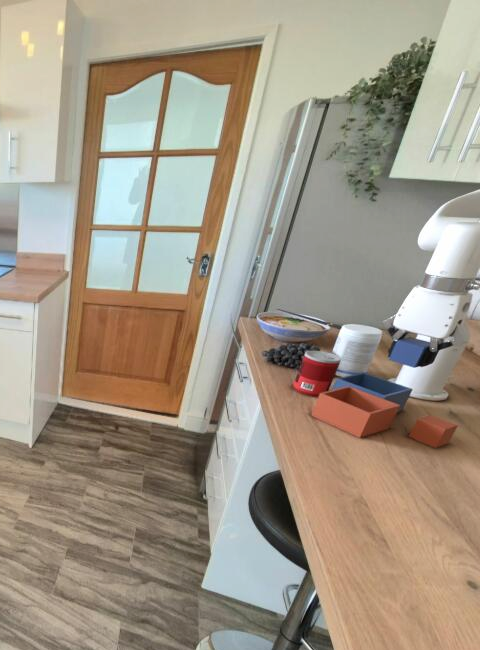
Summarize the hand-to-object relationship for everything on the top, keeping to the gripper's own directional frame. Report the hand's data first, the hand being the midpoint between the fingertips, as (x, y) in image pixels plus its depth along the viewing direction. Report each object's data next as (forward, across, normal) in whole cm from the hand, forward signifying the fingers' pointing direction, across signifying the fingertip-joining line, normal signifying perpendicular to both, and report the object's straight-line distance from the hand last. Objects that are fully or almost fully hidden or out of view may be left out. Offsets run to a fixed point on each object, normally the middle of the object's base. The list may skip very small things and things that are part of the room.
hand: (408, 360), depth 100 cm
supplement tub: (+18, +21, -23) cm, 36 cm away
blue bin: (+17, +7, -6) cm, 19 cm away
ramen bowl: (+18, +49, -37) cm, 64 cm away
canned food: (+17, +18, -1) cm, 25 cm away
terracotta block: (+17, -9, -1) cm, 19 cm away
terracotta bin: (+17, +3, +7) cm, 18 cm away
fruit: (+18, +32, -13) cm, 39 cm away
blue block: (0, 0, 0) cm, 0 cm away
